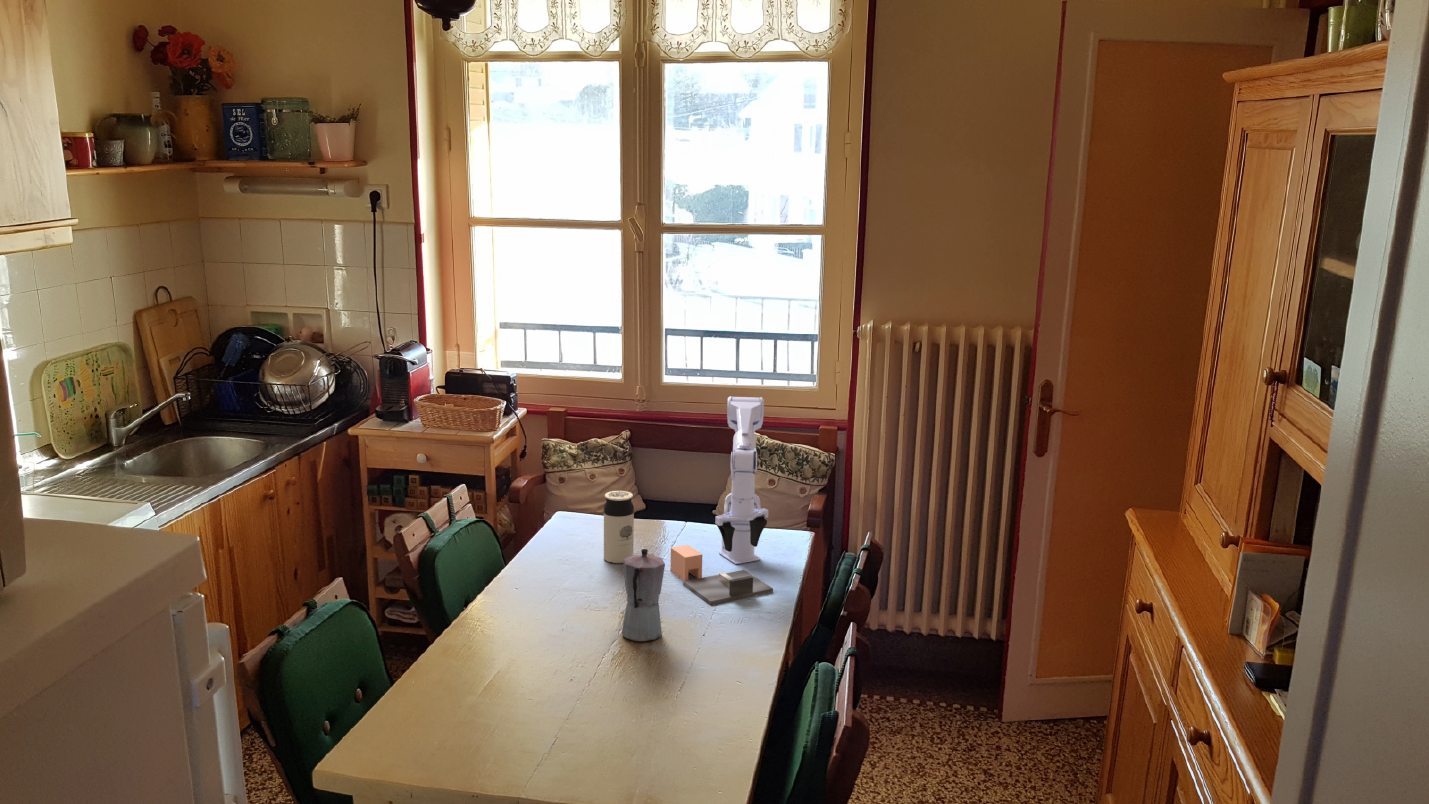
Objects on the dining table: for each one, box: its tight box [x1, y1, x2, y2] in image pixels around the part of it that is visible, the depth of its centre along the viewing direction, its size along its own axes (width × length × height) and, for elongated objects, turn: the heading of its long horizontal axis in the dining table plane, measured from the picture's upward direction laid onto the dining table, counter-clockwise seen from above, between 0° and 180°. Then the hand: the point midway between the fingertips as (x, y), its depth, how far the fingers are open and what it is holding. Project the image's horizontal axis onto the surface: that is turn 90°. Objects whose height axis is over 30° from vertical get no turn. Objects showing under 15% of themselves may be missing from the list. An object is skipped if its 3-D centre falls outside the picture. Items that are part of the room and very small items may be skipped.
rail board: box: [682, 569, 774, 606], centre depth 262 cm, size 14×18×5 cm
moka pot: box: [621, 548, 666, 642], centre depth 233 cm, size 10×15×20 cm, turn 174°
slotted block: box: [669, 544, 703, 581], centre depth 271 cm, size 8×5×6 cm, turn 30°
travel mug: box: [603, 490, 635, 564], centre depth 279 cm, size 8×8×18 cm
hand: (741, 547), depth 264 cm, fingers open, 7 cm apart
